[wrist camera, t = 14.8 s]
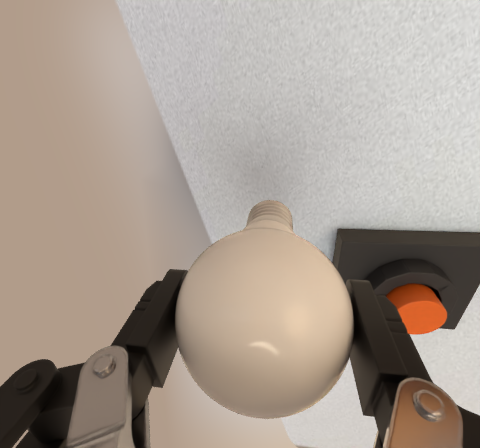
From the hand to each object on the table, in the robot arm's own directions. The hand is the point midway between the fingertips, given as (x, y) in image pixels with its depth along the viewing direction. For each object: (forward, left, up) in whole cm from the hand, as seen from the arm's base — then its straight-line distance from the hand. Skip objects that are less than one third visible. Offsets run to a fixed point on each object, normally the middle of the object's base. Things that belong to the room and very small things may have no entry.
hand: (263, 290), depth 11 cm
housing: (+12, -10, -14) cm, 21 cm away
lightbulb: (0, 0, -7) cm, 7 cm away
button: (+12, -10, -10) cm, 19 cm away
